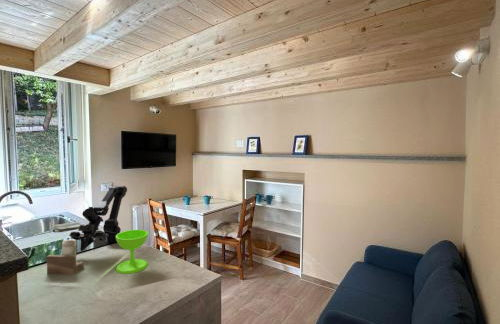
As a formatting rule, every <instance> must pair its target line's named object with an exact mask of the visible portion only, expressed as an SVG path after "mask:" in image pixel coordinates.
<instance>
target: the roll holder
mask: <svg viewBox="0 0 500 324" xmlns="http://www.w3.org/2000/svg"><path fill="white" fill-rule="evenodd" d="M79 262H80V263H79V264H77V265H76V266H75V256H62V254H61V255H60V254H59V255H55V254H48V255H47V256H46V273H47V274H49V275H69V276H71V275H72V276H73V275H74V274H75V273H77V272H79V271H80V270H81V269H84V267H85V266H84V265H85V264H84V263H85V262H84V261H79Z"/></svg>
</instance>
